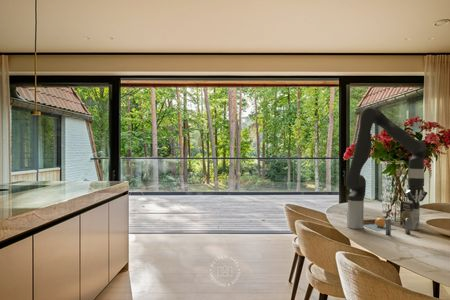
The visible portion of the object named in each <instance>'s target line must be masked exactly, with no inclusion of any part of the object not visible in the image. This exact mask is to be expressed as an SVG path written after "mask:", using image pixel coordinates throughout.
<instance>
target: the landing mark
mask: <svg viewBox="0 0 450 300" xmlns="http://www.w3.org/2000/svg"><path fill="white" fill-rule="evenodd" d="M363 227H366V228H368V229H371V230H374V231H377V232H378V231H386V225H385V226H384V227H378V226H376V224H363ZM396 230H397V228H393V227H391V231H396Z"/></svg>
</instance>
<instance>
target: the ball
mask: <svg viewBox="0 0 450 300" xmlns="http://www.w3.org/2000/svg"><path fill="white" fill-rule="evenodd" d="M375 219H376V220H375V224H376V226H378V227H384V226H386V219H384V218H383V217H377V218H375Z"/></svg>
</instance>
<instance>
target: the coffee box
mask: <svg viewBox="0 0 450 300" xmlns="http://www.w3.org/2000/svg"><path fill="white" fill-rule="evenodd" d="M399 208H400V209H399V210H400V211H399V212H400V214H399V215H400V216H399V219H400V220H399V221H400V223H399V227H400V226H402V228H404V227H405V224H406V218H410V219H411V230H413V231H414V230H420V216H421V215H420V211H421V209H420V208H421V203H420V202H419V209H413V202H412V201H409V200H405V201H403V200H402V201H400V206H399Z"/></svg>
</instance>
